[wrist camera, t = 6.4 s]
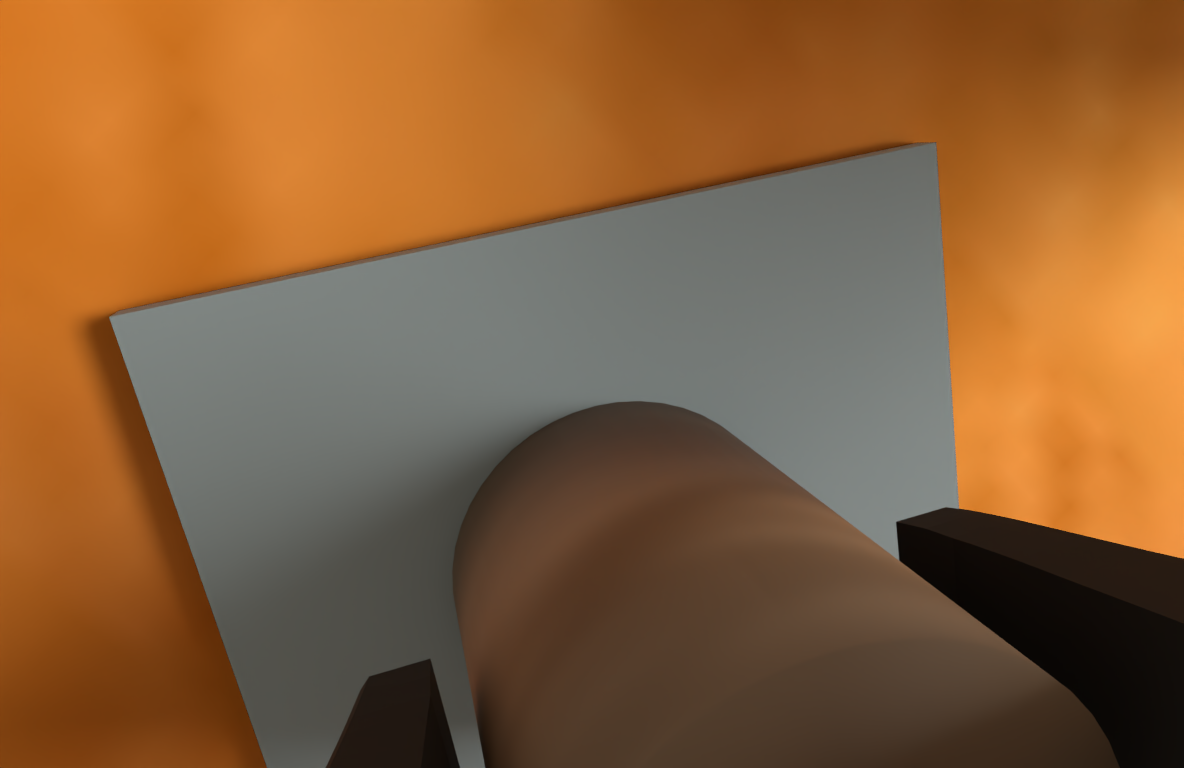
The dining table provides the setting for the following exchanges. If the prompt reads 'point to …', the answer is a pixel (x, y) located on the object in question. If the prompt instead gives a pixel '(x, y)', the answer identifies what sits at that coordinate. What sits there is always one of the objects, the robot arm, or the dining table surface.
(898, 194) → the slate pad
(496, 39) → the dining table surface
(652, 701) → the walnut cylinder
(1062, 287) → the dining table surface
